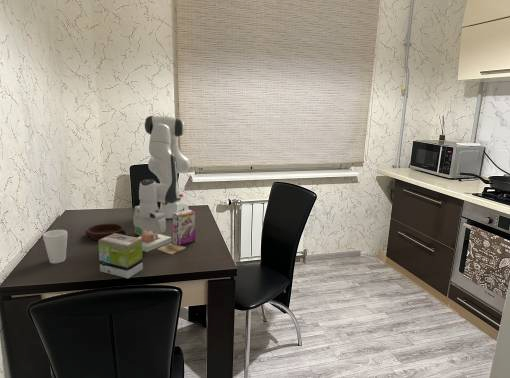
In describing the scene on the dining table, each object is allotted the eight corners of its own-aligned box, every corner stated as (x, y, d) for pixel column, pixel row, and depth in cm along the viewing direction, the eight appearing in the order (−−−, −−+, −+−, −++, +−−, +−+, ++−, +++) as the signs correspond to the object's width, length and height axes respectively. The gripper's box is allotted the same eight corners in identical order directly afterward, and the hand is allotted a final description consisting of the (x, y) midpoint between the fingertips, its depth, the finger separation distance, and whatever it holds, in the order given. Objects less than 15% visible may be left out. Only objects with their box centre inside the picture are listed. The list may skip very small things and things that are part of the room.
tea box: (99, 272, 152) (97, 239, 149) (116, 263, 162) (114, 232, 158) (128, 279, 147) (126, 245, 144) (143, 269, 157) (142, 237, 153)
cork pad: (171, 244, 186) (171, 243, 186) (185, 248, 181) (185, 247, 181) (156, 250, 178) (156, 249, 178) (171, 254, 173) (171, 253, 173)
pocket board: (152, 236, 196) (152, 232, 196) (171, 241, 190) (171, 237, 189) (127, 245, 182) (127, 241, 182) (146, 252, 175) (146, 247, 175)
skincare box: (134, 233, 201) (133, 206, 197) (145, 230, 206) (144, 204, 202) (142, 237, 195) (141, 209, 192) (153, 234, 200) (152, 207, 197)
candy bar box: (177, 246, 184) (177, 215, 180) (172, 243, 187) (172, 213, 184) (196, 241, 192) (195, 211, 188) (190, 238, 195) (190, 209, 192)
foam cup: (66, 263, 160) (64, 235, 157) (43, 265, 157) (40, 237, 154) (71, 255, 169) (68, 229, 166) (48, 257, 166) (46, 230, 163)
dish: (120, 243, 186) (120, 234, 185) (77, 242, 186) (76, 233, 184) (131, 232, 203) (131, 223, 202) (92, 231, 203) (91, 222, 201)
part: (151, 241, 190) (151, 231, 189) (158, 242, 188) (157, 232, 186) (141, 245, 184) (141, 234, 183) (147, 246, 182) (147, 236, 181)
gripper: (129, 209, 185) (130, 235, 188) (158, 216, 174) (159, 243, 177) (139, 207, 190) (140, 231, 193) (167, 213, 180) (168, 239, 183)
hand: (149, 237), depth 185 cm, fingers closed on part, 4 cm apart
